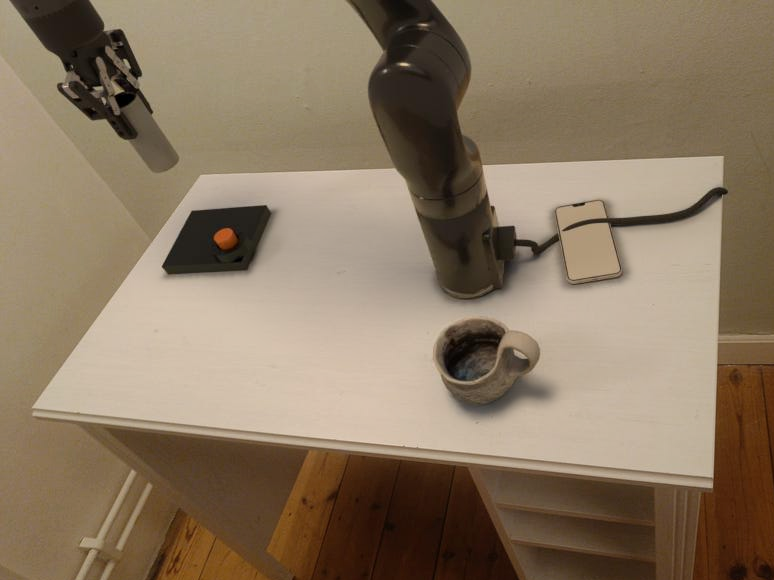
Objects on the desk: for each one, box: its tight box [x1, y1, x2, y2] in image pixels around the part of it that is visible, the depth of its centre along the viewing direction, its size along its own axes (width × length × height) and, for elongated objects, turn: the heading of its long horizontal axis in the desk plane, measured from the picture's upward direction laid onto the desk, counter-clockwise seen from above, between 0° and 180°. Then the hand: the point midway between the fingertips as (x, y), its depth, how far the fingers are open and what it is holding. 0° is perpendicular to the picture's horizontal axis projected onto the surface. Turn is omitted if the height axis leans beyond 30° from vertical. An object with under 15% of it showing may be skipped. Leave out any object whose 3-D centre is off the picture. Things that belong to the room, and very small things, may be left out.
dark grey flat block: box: [161, 204, 272, 275], centre depth 99 cm, size 14×13×4 cm
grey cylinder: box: [104, 90, 180, 174], centre depth 86 cm, size 4×4×10 cm
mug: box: [432, 315, 541, 406], centre depth 71 cm, size 10×12×10 cm
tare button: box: [214, 228, 238, 250], centre depth 94 cm, size 3×3×2 cm
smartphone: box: [553, 199, 623, 285], centre depth 85 cm, size 7×1×15 cm
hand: (139, 125), depth 85 cm, fingers closed on grey cylinder, 4 cm apart
